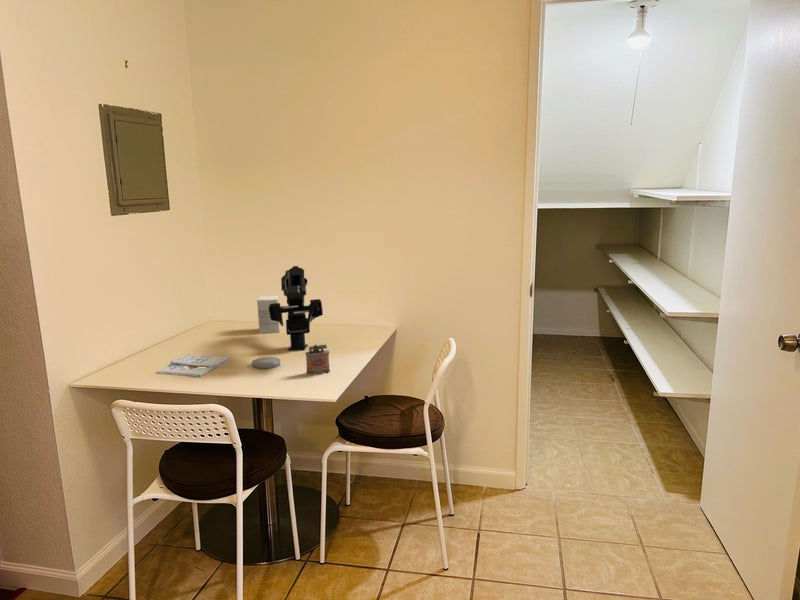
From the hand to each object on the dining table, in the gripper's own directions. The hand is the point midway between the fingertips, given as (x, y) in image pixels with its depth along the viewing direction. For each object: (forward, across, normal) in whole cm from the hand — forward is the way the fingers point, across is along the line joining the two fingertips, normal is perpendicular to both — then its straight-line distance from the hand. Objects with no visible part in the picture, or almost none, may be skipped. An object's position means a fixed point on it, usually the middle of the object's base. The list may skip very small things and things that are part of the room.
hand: (295, 323), depth 209 cm
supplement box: (-45, -18, +36) cm, 60 cm away
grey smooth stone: (+2, -13, +16) cm, 20 cm away
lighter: (+13, +6, +13) cm, 19 cm away
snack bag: (0, -39, +16) cm, 42 cm away
